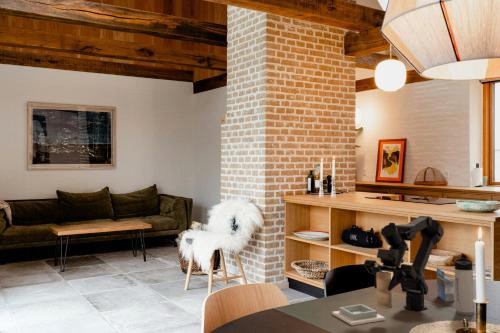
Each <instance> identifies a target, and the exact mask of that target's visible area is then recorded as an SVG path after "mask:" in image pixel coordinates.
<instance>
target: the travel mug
mask: <svg viewBox="0 0 500 333" xmlns="http://www.w3.org/2000/svg"><path fill="white" fill-rule="evenodd" d="M473 270H474V269H473V261H472V260H470V259H466V258H465V257H464V258H463V257H462V258H461V257H460V258H459V259H455V260H454V285H455V286H454V287H455V290H454V291H455V292H454V295H455V312H456V314H458V315H461V316H473V315H474V314H475V302H473V299H474V298H475V294H474V272H473ZM474 300H475V299H474Z"/></svg>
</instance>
